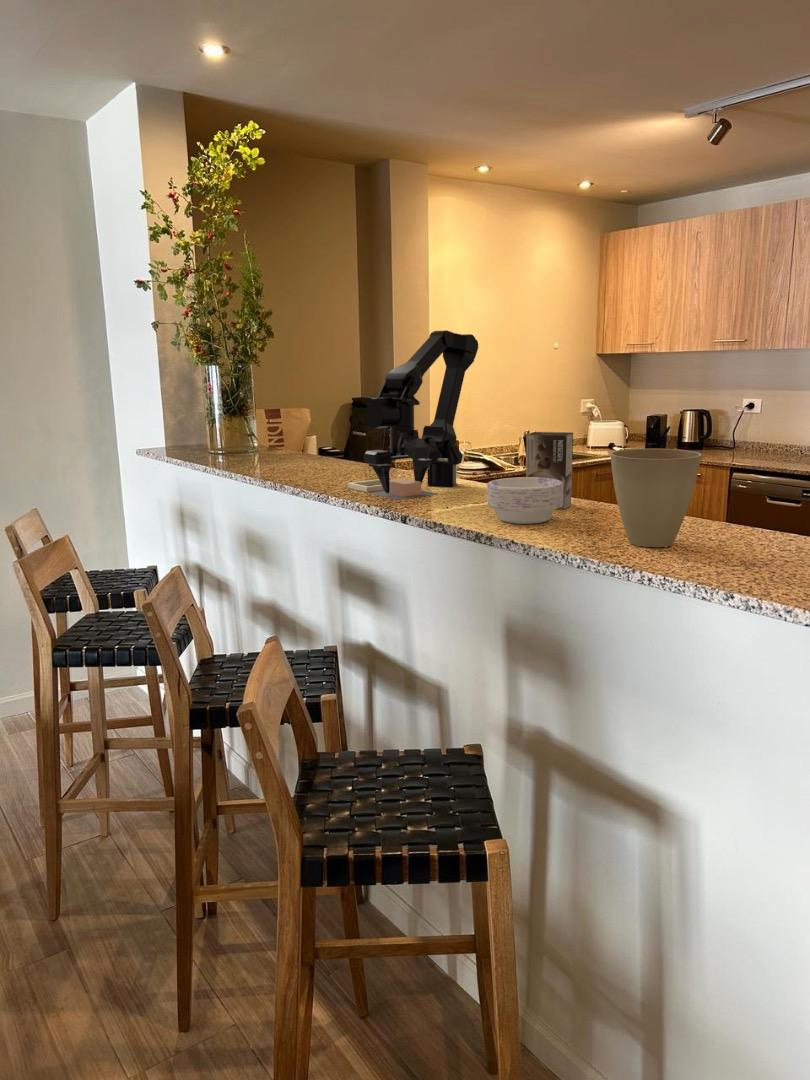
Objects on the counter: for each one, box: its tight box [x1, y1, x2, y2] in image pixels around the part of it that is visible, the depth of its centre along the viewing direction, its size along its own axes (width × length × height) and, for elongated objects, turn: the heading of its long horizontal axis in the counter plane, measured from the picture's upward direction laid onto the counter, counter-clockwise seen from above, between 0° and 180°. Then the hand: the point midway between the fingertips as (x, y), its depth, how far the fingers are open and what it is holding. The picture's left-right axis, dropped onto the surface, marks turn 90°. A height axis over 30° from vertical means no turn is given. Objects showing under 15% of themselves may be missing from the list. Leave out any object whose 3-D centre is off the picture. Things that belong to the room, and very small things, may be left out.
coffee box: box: [525, 431, 574, 510], centre depth 171 cm, size 9×6×16 cm
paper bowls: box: [486, 476, 563, 525], centre depth 157 cm, size 15×15×8 cm
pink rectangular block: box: [389, 477, 422, 497], centre depth 187 cm, size 8×5×3 cm, turn 36°
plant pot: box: [609, 448, 702, 548], centre depth 135 cm, size 15×15×16 cm
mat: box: [343, 478, 439, 501], centre depth 191 cm, size 24×12×2 cm, turn 36°
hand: (402, 490), depth 187 cm, fingers open, 9 cm apart
